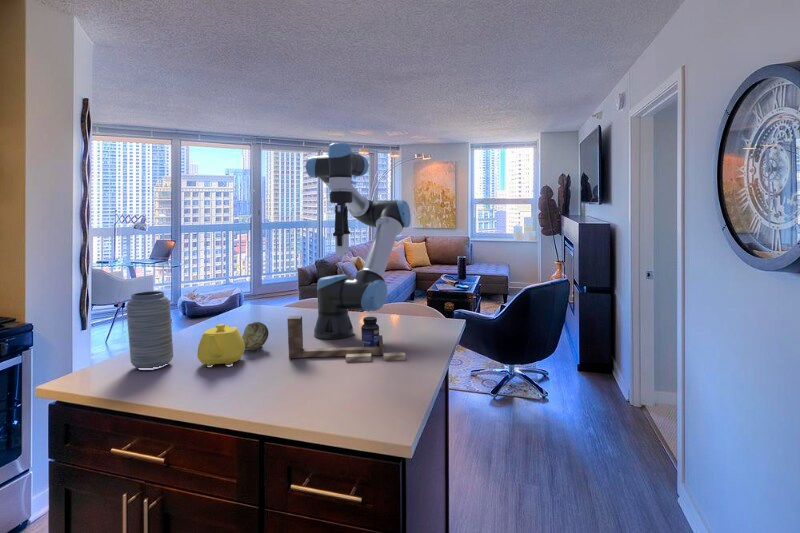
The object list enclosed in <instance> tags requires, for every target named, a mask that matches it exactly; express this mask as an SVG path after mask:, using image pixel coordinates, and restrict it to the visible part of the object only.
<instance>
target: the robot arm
mask: <svg viewBox="0 0 800 533" xmlns="http://www.w3.org/2000/svg"><path fill="white" fill-rule="evenodd" d="M305 163H306V164H305V171H306V174H307V175H308V176H309V177H310V178H315V179H317V178H319V179H320V180H321V181H322V182H323V183H324V184H325V185H326V187H327V188H329V190H330V192H329V203H330V204H336V205H334V214H335V215H334V232H333V233H332V236H333V237H335V256H336V257H345V253H346V254H349V252H350V248H349V247H350V246H349V243H350V242H349V235H350V234H351V231H350V230H349V220H348V219H349V215H348V213H349V214H350V215H351V216H352V217H353V218H354V219H356V220H357V221H359V222H360V223H362V224H364V225H365V226H369V227H371V228H376V232H375V234H374V236H373V239H372V242H371V245H370V248H369V250H368V253H367V255H366V259H365V261H364V264H363V267H362V269H360V270H358V271H357V272H356V274H355V277H354V278H349V277H348V275H347V274H336V275H328V276H324V277H320V278H319V279H318V280H317V283H316V284H317V287H316V292H317V293H316V295H317V318H316V322H315V325H314V331H313V336H314V337H315V338H317V339H321V340H338V339H344V338H348V337H351V336H353V335H354V328H353V325H352V321H351V318H350V316H349V310H353V311H365V312H377V311H379V310H381V309H382V308H383V306H384V305H385V303H386V301H387V297H388V294H387V293H388V286H387V283H386V279H385V278H384V275H385V272H386V270H387V266H388V263H389V260H390V257H391V254H392V250H393V248H394V245H395V241H396V239H397V237H398V236H399V235H401V233H402V232H403V229H404V228H409V227H410V226H411V219H412V218H411V209H410V206H409V204H408V202H407V200H404V199H395V200H394V199H391V200H390V199H386V200H384V199H383V200H372V199H371V200H370V199H368V198H367V197H366V196H364V195H362V194H361V193H360V192H359V191H358V190H357V188H356V187H355V186H354V185H353V184H354V182H355V181H354V180H352V177H362V176H365V174H367V173H368V171H369V166H370V165H369V161H368V159H367V157H365V156H363V155H361V154H359V153H353V151H352V146H351V144H349V143H346V142H334V143H333V142H332V143H331V144H329V145H328V155H317V156H310V157H308V159H307V160H306V162H305Z"/></svg>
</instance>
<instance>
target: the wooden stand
mask: <svg viewBox="0 0 800 533" xmlns="http://www.w3.org/2000/svg"><path fill="white" fill-rule="evenodd" d="M303 334H304V332H303V315H290V316H288V317H287V338H288V340H287V342H288V344H287V345H288V359H301V358H320V357H321V358H327V357H346V354H365V353H371V356H384V339H383V335H380V334H379V347H362V346H351V347H349V346H348V347H321V348H320V347H319V348H304V336H303Z"/></svg>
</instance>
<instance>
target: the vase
mask: <svg viewBox="0 0 800 533" xmlns="http://www.w3.org/2000/svg"><path fill="white" fill-rule="evenodd" d="M125 305H126V307H125V309H126V319H127V331H128V332H127V334H128V346H129V358H130V363H131V365H132V366H133V367H135V368H136V367H137V368H153V367H159V366H163V365H165V364H168V363H169V364H170V363H171V362H172V361H173V358H174V346H173V345H174V343H173V342H174V341H173V329H172V328H173V327H172V326H173V325H172V314H171V302H170V299H169V298H168V297H167V296H165V292H164V291H162V290H161V291H160V290H152V291H151V290H150V291H141V292H135V293H132V294H131V297H130V299H129V300H128V301H127V303H126V304H125ZM137 368H136V369H137Z"/></svg>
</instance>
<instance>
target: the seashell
mask: <svg viewBox="0 0 800 533" xmlns="http://www.w3.org/2000/svg"><path fill="white" fill-rule="evenodd" d="M241 336H242V338H243V340H244V345H245V350H247V351H249V350H252V351H255V350H258V349H260V348H261V347H262V346H264V345H265V344H266V342H267V341H268V337H269V328H268V327H267V325H265V324H264V323H263V322H260V321H256V322H255V321H254V322H252V323H247V325H246V326H245V328H244V330H243V335H241Z"/></svg>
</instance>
